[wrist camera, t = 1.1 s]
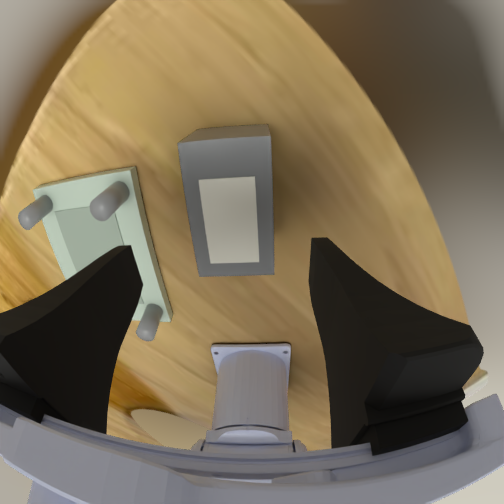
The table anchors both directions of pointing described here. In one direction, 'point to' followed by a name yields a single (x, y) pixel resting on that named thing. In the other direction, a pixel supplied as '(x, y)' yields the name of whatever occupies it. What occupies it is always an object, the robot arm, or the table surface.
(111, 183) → the tray
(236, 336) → the table surface
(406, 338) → the robot arm
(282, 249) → the table surface
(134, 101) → the table surface
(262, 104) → the table surface
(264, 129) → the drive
